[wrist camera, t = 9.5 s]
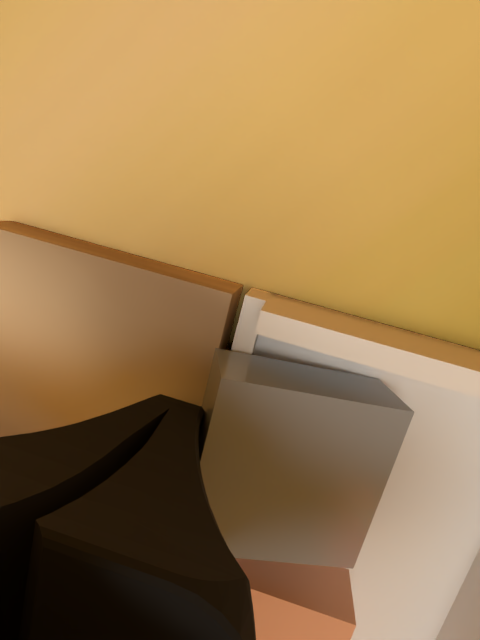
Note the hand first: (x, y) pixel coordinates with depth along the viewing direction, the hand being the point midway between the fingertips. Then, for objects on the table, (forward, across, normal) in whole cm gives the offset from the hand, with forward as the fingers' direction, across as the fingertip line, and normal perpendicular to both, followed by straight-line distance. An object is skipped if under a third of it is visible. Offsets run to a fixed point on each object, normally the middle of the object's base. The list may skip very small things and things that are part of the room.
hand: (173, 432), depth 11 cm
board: (+3, +4, +4) cm, 6 cm away
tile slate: (+2, -3, 0) cm, 3 cm away
